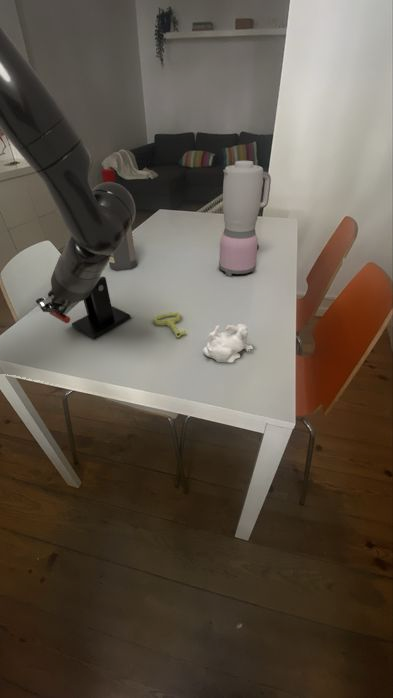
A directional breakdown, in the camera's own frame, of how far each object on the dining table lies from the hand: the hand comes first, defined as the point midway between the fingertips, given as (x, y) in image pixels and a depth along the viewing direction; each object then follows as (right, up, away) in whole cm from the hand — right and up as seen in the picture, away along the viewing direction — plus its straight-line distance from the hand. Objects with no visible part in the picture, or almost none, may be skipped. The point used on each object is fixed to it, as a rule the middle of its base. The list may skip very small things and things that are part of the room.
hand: (58, 310), depth 72 cm
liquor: (+5, +21, +41) cm, 46 cm away
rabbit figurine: (+39, -11, 0) cm, 40 cm away
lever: (+4, +2, +4) cm, 6 cm away
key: (+25, -3, +10) cm, 27 cm away
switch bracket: (+7, -2, +12) cm, 13 cm away
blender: (+47, +19, +37) cm, 62 cm away
